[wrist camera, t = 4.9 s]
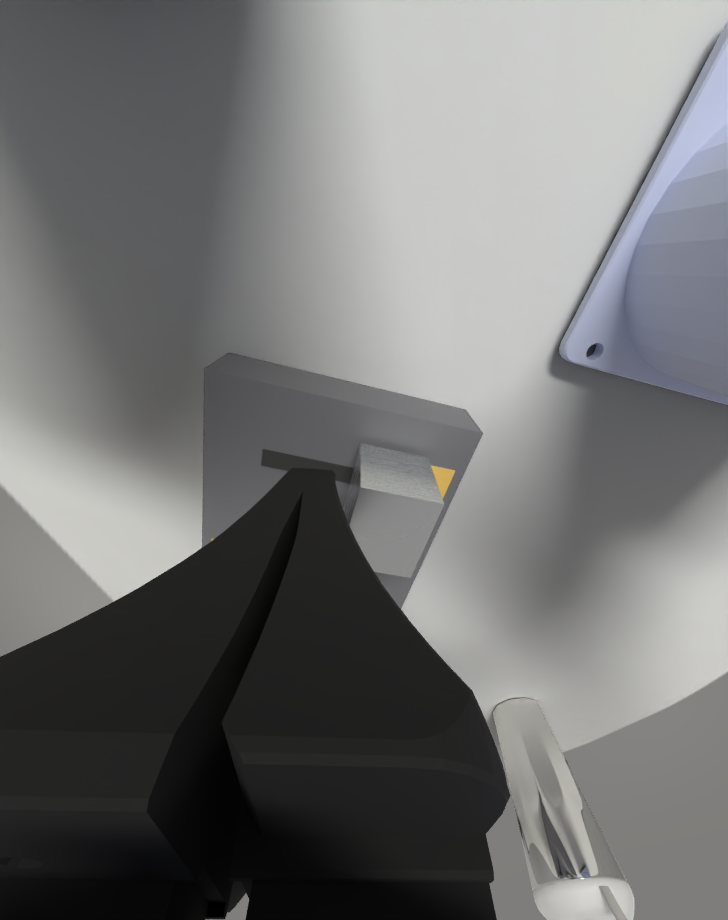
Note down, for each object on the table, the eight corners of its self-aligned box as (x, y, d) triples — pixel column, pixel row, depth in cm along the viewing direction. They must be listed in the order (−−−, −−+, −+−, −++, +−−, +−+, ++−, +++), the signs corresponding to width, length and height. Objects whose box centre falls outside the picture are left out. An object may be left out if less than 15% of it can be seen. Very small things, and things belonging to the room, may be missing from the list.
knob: (428, 457, 11) (444, 503, 9) (401, 524, 12) (410, 577, 10) (360, 443, 10) (360, 487, 8) (341, 512, 12) (337, 565, 10)
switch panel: (465, 409, 12) (483, 434, 11) (365, 645, 20) (366, 683, 18) (228, 352, 11) (203, 368, 9) (215, 624, 18) (200, 663, 17)
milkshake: (565, 687, 22) (698, 959, 13) (536, 725, 25) (631, 974, 16) (498, 684, 22) (589, 959, 13) (475, 723, 24) (539, 974, 16)
